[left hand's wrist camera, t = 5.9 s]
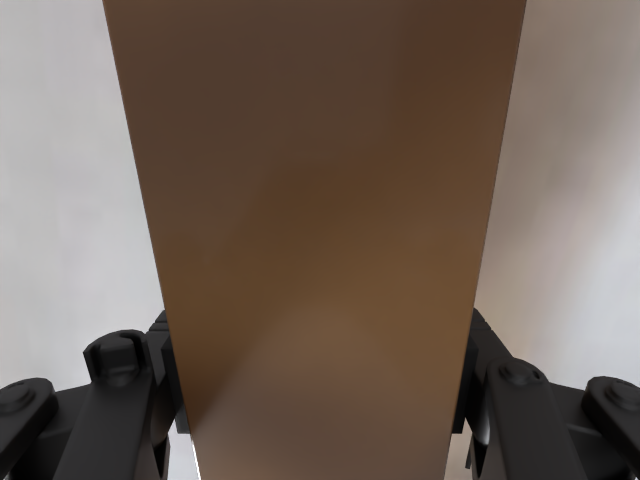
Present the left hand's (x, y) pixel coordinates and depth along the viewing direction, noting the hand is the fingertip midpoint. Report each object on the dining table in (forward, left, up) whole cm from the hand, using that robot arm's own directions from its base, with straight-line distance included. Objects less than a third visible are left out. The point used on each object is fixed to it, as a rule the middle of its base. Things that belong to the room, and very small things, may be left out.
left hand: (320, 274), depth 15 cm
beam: (-2, -21, -1) cm, 21 cm away
